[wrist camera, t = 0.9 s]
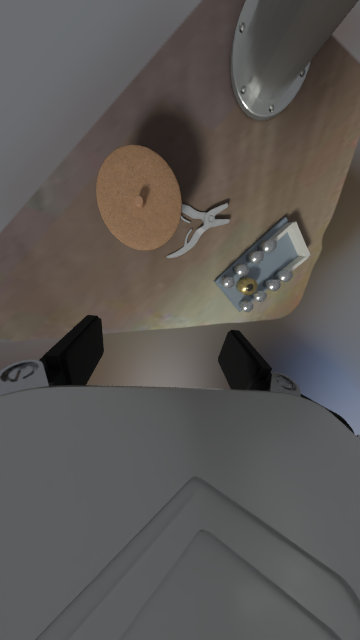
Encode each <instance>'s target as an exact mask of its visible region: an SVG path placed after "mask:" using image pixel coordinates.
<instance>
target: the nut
mask: <svg viewBox="0 0 360 640" xmlns="http://www.w3.org/2000/svg"><path fill="white" fill-rule="evenodd" d="M257 286H258V284H257V282H256V280H254V279H251V278H248V277H242V278H240V279H239V280H238V281H237V284H236V289H237V290H238V291H239V292H241V293H243V294H244V295H251V294H253V293H254V292H255V291H256V289H257Z"/></svg>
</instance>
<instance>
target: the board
mask: <svg viewBox="0 0 360 640" xmlns="http://www.w3.org/2000/svg"><path fill="white" fill-rule="evenodd" d="M262 240H275V241H276V242H277V247H276V249H275V250H274V251H273V252H271V253H264V259H263V260H262V262H260V263H258V264H255V263H250V262H247V260H246V255H247V253H248V252H250V251H258V250H257V246H258V244H259V242H260V241H262ZM308 256H310V253H309V251H308V249H307V246H306V244H305V241H304V239H303V237H302V234H301V232H300V229H299V227H298V225H297V222H290V223H289V222H288V220H287V217H283V218H282V219H281V220H280V221H279V222H278V223H276V224H275V225H274V226H273V227H272V228H271V229H270V230H269V231H268V232H267V233H266V234H264V235H263V236H262V237H261V238H260V239H259V240H258V241H257V242H256V243H255V244H254V245H252V246H251V247H250V248H249V249H248V250H247V251H246V252H245V253H244V254H243V255H242V256H240V257H239V258H238V259H237V260H236V261H235V262H234V263H233V264H232V265H231V266H230V267H228V268H227V269H226V270H225V271H224V272H223V273H222V274H221V275H220V276H219V277H218V278H216V279H215V280H214V282H215V283H216V284H217V285H218V287H219V288H220V289H221V290H222V291H223V293H224V294H225V295H226V296H227V297H228V299H229V300H230V301H231V302H232V303H233V305H234V306H235V307H236V308H237V310H238V311H241V310H242V309H241V308H240V307H239V306H238V303H239V301H240V300H242V299H246V300H247V301H249V302H250V303H251V302H252V301H254V300H255V299H253V298H252V297H251V296H250V295H244V294H243V293H241V292H239V291H238V290H237V289H236V284H237V281H238V280H239V279H240V278H242V277H248V278H251V279H254V280H256V282H257V284H258V286H257V289H258V290H261V291H263V292H265V291H266V290H267V288H264V287H263V282H264V281H265V280H266V279H268V278H271V279H274V273H275V272H276V271H277V270H279V269H282V270H287V271H293V270H294V269H295V268H296V267H298V266H299V265H300V264H301V263H303V262H304V261H305V260H306V259H308V258H309V257H308ZM237 263H240V264H245V265H247V266H248V267H249V272H248V274H247V275H245V276H239V275H236V274H234V273H233V271H232V269H233V266H234V265H235V264H237ZM224 275H227V276H229V277H232V278H233V279H234V280H235V284H234V286H233V287H232V288H226V287H224V286H223V285H221V284H220V278H221V277H222V276H224ZM274 280H276V279H274ZM277 281H279V280H277Z"/></svg>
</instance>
